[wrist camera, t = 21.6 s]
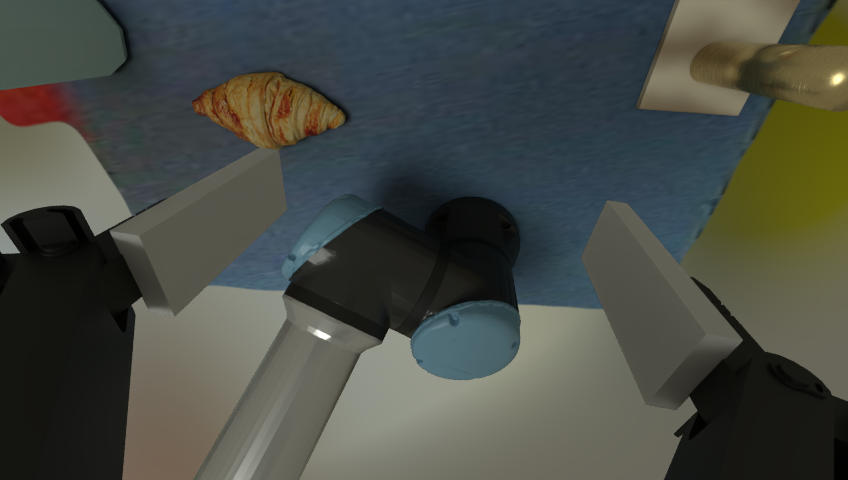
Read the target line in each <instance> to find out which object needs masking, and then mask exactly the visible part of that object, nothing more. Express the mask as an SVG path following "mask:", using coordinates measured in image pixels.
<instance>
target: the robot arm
mask: <svg viewBox="0 0 848 480" xmlns="http://www.w3.org/2000/svg"><path fill="white" fill-rule="evenodd" d="M286 210H287V207H286V199H285V192H284V185H283V178H282V171H281V164H280V157H279V150H275V149H268V148H262V147H260V148H258V149H257V150H255V151H253V152H251V153H249V154H248V155H246V156H244V157H242V158H240V159H239V160H237V161H235V162H233V163H231V164H229V165H228V166H226V167H224V168H222V169H220V170H219V171H217V172H215V173H213V174H211V175H209V176H208V177H206V178H204V179H202V180H200V181H199V182H197V183H195V184H193V185H191V186H190V187H188V188H186V189H184V190H182V191H180V192H179V193H177V194H175V195H173V196H171V197H170V198H167V199H163V200H161V201H159V202H157V203H155V204H153V205H152V206H150V207H148V208H147V210H146V209H144V210H142V211H141V212H139V213H137V214H136V216H131V217H130V218H128V219H126V220H124V221H122V222H121V223H119V224H117V225H115V226H114V227H111V228H109V229H108V230H106V231H104V232H102V233H100V234H99V235H97V236H94V234H93V232H92V230H91V229H90V227H89V225H88V223H87V221H86V219H85V217H84V215H83V213H82V212H81V210H80V209H78V208H76V207H73V206H64V205H63V206H48V207H43V208H37V209H33V210H29V211H26V212H23V213H19V214H17V215H15V216H13V217H11V218H9V219H7V220H6V221H4V222H3V223H2V224H1V226H2V227H3V229H4V230H5V232H6V233H7V235H8V236H9V237H10V239H11V240H12V242H13V243H14V245H15V246H16V247H17V249H18V250H19V252H20V253H15V254H2V253H1V252H0V480H122V474H123V462H124V450H125V438H126V425H127V413H128V401H129V389H130V376H131V364H132V352H133V340H134V339H133V338H134V326H135V312H134V310H133V308H132V306H131V305H132V304H133V303H134V302H136V301H137V300H138V299H139V298H141V297H143V300H144V302H145V304H146V306H147V308H148V310H149V312H152V313H157V314H163V315H168V316H173V317H175V316H176V315H177V314H178V313H179V312H180V311H181V310H182V309H183V308H184V307H185V306H187V305H188V304H189V303H190V302H191V301H192V300H193V299H194V298H195V297H196V296H197V295H198V294H199V293H200V292H201V291H202V290H203V289H204V288H205V287H206V286H207V285H209V284H210V283H211V282H212V281H213V280H214V279H215V278H216V277H217V276H218V275H219V274H220V273H221V272H222V271H223V270H224V269H225V268H226V267H227V266H228V265H230V264H231V263H232V262H233V261H234V260H235V259H236V258H237V257H238V256H239V255H240V254H241V253H242V252H243V251H244V250H245V249H246V248H247V247H248V246H249V245H250V244H252V243H253V242H254V241H255V240H256V239H257V238H258V237H259V236H260V235H261V234H262V233H263V232H264V231H265V230H266V229H267V228H268V227H269V226H270V225H271V224H273V223H274V222H275V221H276V220H277V219H278V218H279V217H280V216H281V215H282V214H283V213H284V212H285V211H286ZM519 249H520V237H519V232H518V228H517V225H516V222H515V220H514V219H513V217H512V216H511V214H510V213H509V212H508V211H507V210H506V209H505V208H503V207H502V206H501V205H499V204H497V203H495V202H493V201H491V200H488V199H484V198H479V197H463V198H458V199H454V200H451V201H449V202H447V203H445V204H443V205H442V206H440V207H439V208H438V209H437V210H436V211H435V212H434V213H433V214H432V215H431V217H430V218H429V220H428V222H427V224H426V228H425V231H424V232H423V231H421V230H420V229H418V228H416V227H414V226H412V225H411V224H409V223H407V222H405V221H403V220H401V219H400V218H398V217H396V216H394V215H393V214H391V213H389V212H387V211H386V210H384V208H383V207H381V206H376V205H374V204H372V203H370V202H368V201H366V200H364V199H362V198H360V197H358V196H356V195H352V194H345V195H342V196H339V197H337V198H336V199H334V200H333V201H331V202H330V203H329V204H328V205H327V206H326V207H325V208H324V209H323V210H322V211H321V212H320V213H319V214H318V215H317V216H316V217H315V218H314V219H313V220H312V222H311V223H310V224H309V225H308V227H307V228H306V229H305V230H304V232H303V233H302V234H301V236H300V237H299V238H298V240H297V241H296V243H295V244H294V246H293V247H292V251H291V252H290V253H289V255H288V256H287V257H286V259H285V261H284V263H283V265H282V268H281V272H282V275H283V276H284V277H285V279H286V280H288V281H291V283H290V284H289V286H288V288H287V289H286V291H285V293H284V294H283V300H284V304H285V307H286V311H287V319H286V321H285V322H284V324H283V326H282V328H281V329H280V331H279V333H278V334H277V336H276V338H275V340H274V342H273V343H272V345H271V346H270V348H269V350H268V352H267V353H266V355H265V357H264V359H263V360H262V362H261V364H260V365H259V367H258V369H257V371H256V372H255V374H254V376H253V378H252V379H251V381H250V383H249V385H248V386H247V388H246V390H245V391H244V393H243V395H242V396H241V398H240V400H239V402H238V403H237V405H236V407H235V409H234V410H233V412H232V414H231V415H230V417H229V419H228V421H227V422H226V424H225V426H224V428H223V429H222V431H221V433H220V434H219V436H218V438H217V440H216V441H215V443H214V445H213V447H212V448H211V450H210V452H209V453H208V455H207V457H206V459H205V460H204V462H203V464H202V465H201V467H200V469H199V471H198V472H197V474H196V476H195V478H194V479H193V480H299V479H300V477H301V475H302V473H303V471H304V469H305V467H306V464H307V463H308V461H309V458H310V456H311V454H312V452H313V450H314V448H315V446H316V444H317V442H318V440H319V438H320V436H321V434H322V432H323V430H324V428H325V426H326V424H327V422H328V420H329V418H330V416H331V414H332V411H333V410H334V408H335V405H336V403H337V401H338V399H339V397H340V395H341V393H342V391H343V389H344V387H345V385H346V383H347V381H348V379H349V377H350V375H351V373H352V371H353V369H354V367H355V364H356V363H357V361H358V359H359V357H360V354H361V353H362V352H364V351H365V350H367V349H369V348H372V347H374V346H377V345H380V344H382V342H383V339H384V337H385V335H386V333H387V331H388V329H389V328H390V329H392V330H395V331H397V332H399V333H401V334H403V335H405V336H407V337H409V338H411V349H412V354H413V357H414V358H415V359H416V361H417V363H418V364H419V366H421V367H422V368H423V369H425V370H426V371H427V372H429V373H431V374H433V375H436V376H439V377H442V378H447V379H454V380H470V379H474V378H482V377H486V376H489V375H492V374H494V373H496V372H498V371H500V370H501V369H503V368H504V367H506V366H507V365H508V364H509V363H510V362H511V361H512V360H513V359H514V357H515V356H516V354H517V352H518V349H519V345H520V323H521V320H520V315H519V310H518V304H517V298H516V292H515V286H514V280H513V274H512V269H513V266H514V264H515V262H516V259H517V257H518V254H519ZM581 259H582V262H583V264H584V266H585V268H586V271H587V273H588V275H589V277H590V280H591V282H592V284H593V286H594V289H595V291H596V293H597V295H598V298H599V300H600V302H601V304H602V307H603V309H604V311H605V313H606V315H607V318H608V320H609V322H610V324H611V327H612V329H613V331H614V333H615V336H616V338H617V340H618V342H619V344H620V347H621V349H622V352H623V354H624V356H625V358H626V361H627V363H628V365H629V367H630V370H631V372H632V374H633V376H634V379H635V381H636V383H637V385H638V388H639V390H640V392H641V394H642V397H643V399H644V401H645V403H646V405H652V406H657V407H662V408H668V409H673V410H677V409H678V408H679V407H680V406H681V404H682V403H683V402H684V401H685V400H686V399H687V398H688V397H689V396H690V398H691V400H692V401H693V403H694V405H695V407H696V408H697V410H698V411H697V412H696V413H695V414H694V415H693V416H692V417H691V418H690V419H689V420H688V421H687V422H686V423H685V424H684V425H682V426H681V427H680V428H679V429H678V430H677V431H676V432H675V433H674V435H675V436H677V437H679V436H681V435H682V434H683V435H682V438H681V440H680V443H679V445H678V447H677V450H676V452H675V455H674V457H673V459H672V462H671V464H670V467H669V469H668V471H667V474H666V476H665V479H664V480H848V401H845V400H843V399H840V398H837V397H835V396H832V394H831V392H830V390H829V389H828V388H827V387H826V386H825V385H824V383H823V382H822V381H821V380H820V379H818V378H817V377H816V376H815V375H813V374H812V373H811V372H810V371H808V370H807V369H805V368H804V367H802V366H800V365H799V364H797V363H795V362H794V361H791V360H789V359H787V358H785V357H782V356H780V355H777V354H773V353H769V352H765V351H764V350H763V349H762V348H761V347H760V346H759V345H758V343H757V342H756V341H755V340H754V339H753V338H752V337H751V335H750V334H748V332H747V331H746V330H745V329H744V328H743V326H742V325H741V324H740V323H739V322H738V321H737V320H736V318H735V317H734V316H731V315H730V314H731V313H730V312H729V311H728V310H727V309H726V307H725V306H724V305H721V301H720V300H718V299H717V297H716V296H715V295H714V294H713V292H712V291H711V290H710V289H709V288H707V287H706V286H704V285H703V284H701V283H700V282H699V281H697V280H696V279H695V278H693V277H689V276H688V275H687V273H686V272H685V271H684V270H683V269H682V267H681V266H680V265H679V264H678V263H677V261H676V260H675V259H674V258H673V257H672V256H671V254H670V253H669V252H668V251H667V250H666V248H665V247H664V246H663V245H662V244H661V243H660V241H659V240H658V239H657V238H656V237H655V235H654V234H653V233H652V232H651V231H650V230H649V228H648V227H647V226H646V225H645V224H644V222H643V221H642V220H641V219H640V218H639V217H638V215H637V214H636V213H635V212H634V211H633V209H632V208H631V207H630V206H629V205H628V204H627V203H622V202H615V201H609V200H607V201H606V204H605V206H604V208H603V210H602V212H601V214H600V217H599V219H598V221H597V223H596V225H595V228H594V230H593V232H592V234H591V236H590V239H589V241H588V243H587V245H586V247H585V250H584V252H583V254H582V256H581Z"/></svg>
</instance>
